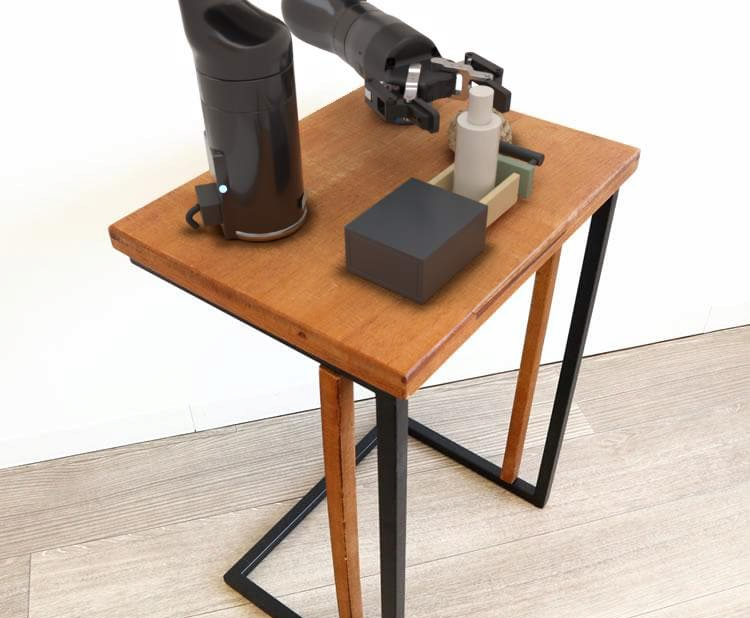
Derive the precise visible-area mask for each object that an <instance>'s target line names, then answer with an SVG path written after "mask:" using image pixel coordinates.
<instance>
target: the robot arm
mask: <svg viewBox="0 0 750 618" xmlns="http://www.w3.org/2000/svg"><path fill="white" fill-rule="evenodd" d="M177 3H178V7H179V12H180V18H181V22H182V27H183V31H184V36H185V38H186V42H187V43H188V46H189V48H190V50H191V52H192V57H193V58H192V59H193V63H194V68H195V76H196V81H197V88H198V93H199V100H200V105H201V112H202V118H203V124H204V130H203V139H204V145H205V151H206V157H207V163H208V170H209V175H210V182H209V183H203V184H198V185H194V191H195V197H196V202H197V203H196V204H195V205H194V206H192V207H191V208H189V209H188V210H187V212H186V213H185V222H186V223H187V225H188V226H190V227H191V228H192V229H194V230H195V231H196V230H198V229H200V227H201V225H200V223H198V222H197V221H196V220H195V219H194V218H193V217H194V216H195V215H196V214H197V213H199V214H200V217H201V219H202V223H203V226H204V227H206V228H207V227H211V226H216V225H219V226H220V227H221V230H222V232H223V235H224V238H225V240H228V241H229V240H233V239H237V240H238V239H239V240H243V241H247V242H248V241H249V242H267V241H274V240H279V239H282V238H285V237H288V236H289V235H291V234H293V233H295V232H296V231H298V230H299V229H301V228H302V227H303V225H304V224H305V222H306V220H307V217H308V209H307V203H306V202H307V198H308V186H307V185H306V186H305V183H304V172H303V171H304V170H303V161H302V157H303V156H302V148H301V147H302V146H301V145H302V144H301V135H300V133H301V132H300V122H299V111H298V109H299V108H298V100H297V99H298V98H297V96H298V95H297V85H296V73H295V62H294V61H295V59H294V57H295V56H294V46H293V44H294V43H293V38H292V37H296V39H298V40H299V41H301V42H303V43H305V44H307V45H310V46H312V47H315V48H317V49H319V50H322V51H325V52H327V53H331V54H333V55H335V56H337V57H338V58H340V60H342V61H343V62H344V63H346V64H347V65H349V66H350V67H351V68H352V69H353V70H354V71H355V72H356V73H357V75H359V77H361V78H362V80H364V81H363V82H364V103H365V104H366V105H367V106H368V107H369V108H370V109H371V110H372V111H373V112H375V114H377V115H378V116H379V118H381V119H382V120H383V121H384V122H385V123H387V124H396V123H395V122H396V121H397V118H403V119H404V120H405V121H408V122H411V121H412V122H413V123H412V124H414V125H416V126H417V127H418V128H419V129H421V130H423V131H426V132H428V133H429V134H430V135H434V134H437V133H439V132H440V124H441V123H440V121H441V119H440V118H441V116H440V113H439V111H438V110H437V109H436V108H434V107H433V106H432V107H431V106H430V105H428V104H427V103H429V102H432V103H433V102H436V101H438V100H441V99H451V100H457V101H463V102H465V101H467V100H468V99H469V90H470V88H472V87H473V83H474V84H476V85H477V86H488V87H490V88H492V89H493V90H494V97H493V108H494V109H496V110H497V111H499V112H500V113H501V115H502V114H506V113H509V112H511V111H510V110H511V103H512V92H511V90H509V89H508V88H507V87H504V86H503V78H504V71H505V70H504V69H505V68H503V67H501V66H499V65H497V64H496V63H494V62H492V61H490V60H489V59H487V58H485V57H483V56H482V55H479V54H478V53H477V52H473V51H467V52H465V53H464V59H463V60H460V61H457V62H456V61H454V60H452V59H449V58H445V57H443V56H442V54H441V52H440V50H439V49H438V47H437V45H436V44H435V42H434V41H433V40H432V39H431V38H430V37H428V36H427V35H425V34H424V33H422V32H420V31H419V30H417V29H416V28H414V27H413V26H411V25H409V24H408V23H406V22H405V21H403V20H401V19H400V18H398V17H396V16H395V15H391V14H389V13H386V12H385V11H383V10H381V9H380V8H378V7H377V6H376V5H374V4H372V3H370V2H369V1H368V0H280V11H281V16H282V19H283V20H281V19H280V18H279V17H277V16H275V15H273V14H271V13H269V12H267V11H266V10H264V9H262V8H260V7H258V6H257V5H255V4H254V3H252V2H251V1H250V0H177ZM292 35H293V36H292ZM459 75H460V76H461V89H457V82H458V81H457V80H458V76H459Z"/></svg>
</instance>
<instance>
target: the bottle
mask: <svg viewBox="0 0 750 618" xmlns="http://www.w3.org/2000/svg"><path fill="white" fill-rule="evenodd" d="M493 97H494V90H493V89H492V88H490V87H488V86H479V85H474V86H472V88H470V90H469V98H468V99H467V100H468V102H467V108H468V111H466V112H463V113H462V114H460V115H459V116H458V118H457V128H456V144H455V152H454V160H453V161H454V162H453V163H454V178H453V193H456V194H459V195H461V196H464V197H467V198H469V199H472V200H475V201H477V202H479V201H480V200H481V199H483V198H484V197H485V196H486V195H487V194H489V193H490V192H491V191H492V190H493V189H495V182H496V172H497V162H498V152H499V142H500V132H501V118H500V117H499V116H498V115H497V114H495V113H493V112H492V108H493Z"/></svg>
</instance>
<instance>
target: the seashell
mask: <svg viewBox="0 0 750 618" xmlns="http://www.w3.org/2000/svg"><path fill="white" fill-rule="evenodd" d="M466 111H468V107H465V108H461V109H459V110H458V111H457V114H456V115H455V116H453V117H452V118H451V119H450V120H449V126H448V127H447V129H446V135H447V141H446V143H447V144H448V147H449V149H450V150H452V151H453V153H455V144H456V128H457V118H458V116H459V115H460V114H462V113H463V112H466ZM492 112H493V113H495V114H497V115H498V116H499V117H500V118H501V132H500V140H502V141H505V142H508V143H511V144H513V133H512V126H511V123H510V122H509V120H508V118H507V117H506V116H505V115H502V113H500V112H499V111H497V110H496V109H494V108H492ZM498 154H500V153H498ZM500 155H501V154H500Z"/></svg>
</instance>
